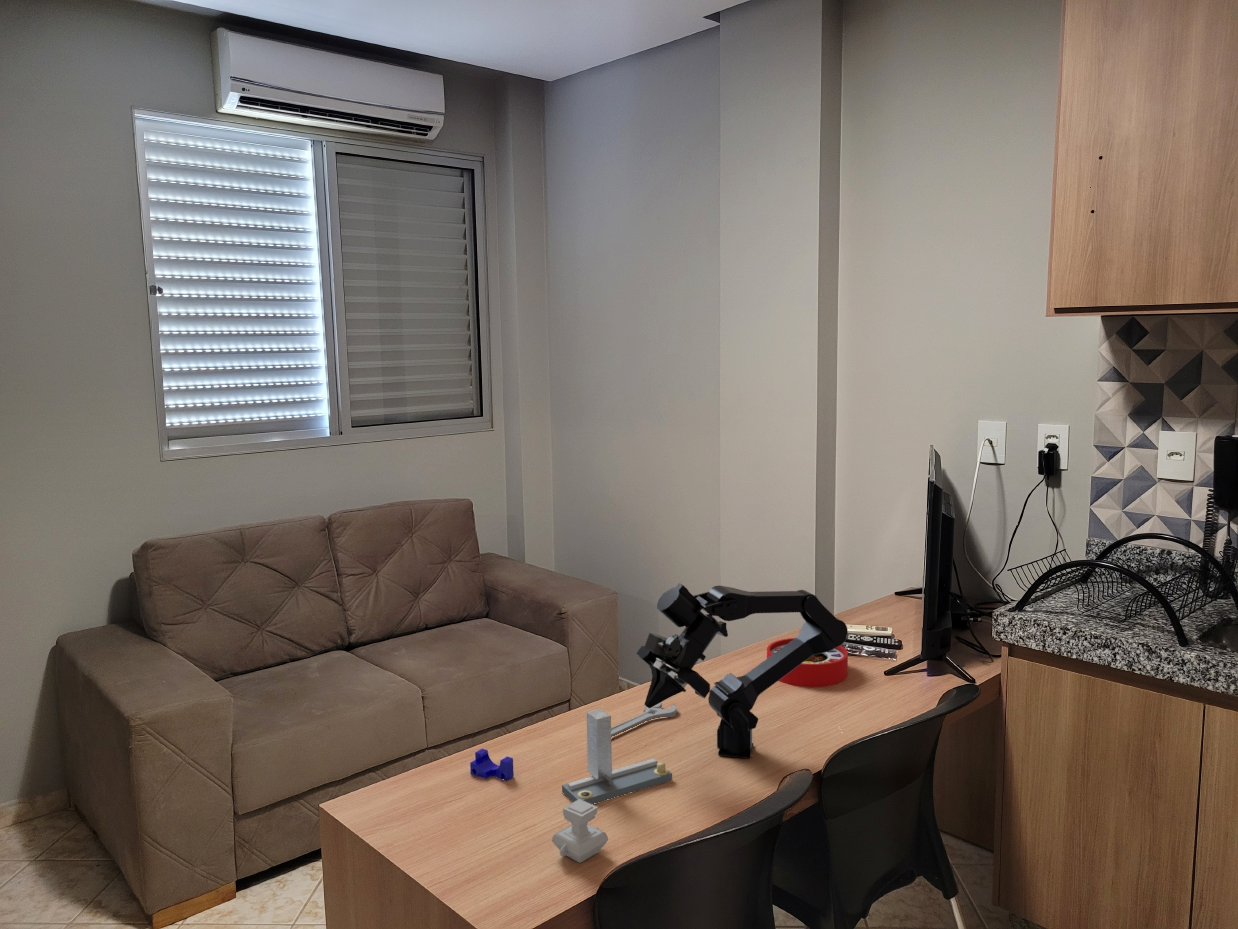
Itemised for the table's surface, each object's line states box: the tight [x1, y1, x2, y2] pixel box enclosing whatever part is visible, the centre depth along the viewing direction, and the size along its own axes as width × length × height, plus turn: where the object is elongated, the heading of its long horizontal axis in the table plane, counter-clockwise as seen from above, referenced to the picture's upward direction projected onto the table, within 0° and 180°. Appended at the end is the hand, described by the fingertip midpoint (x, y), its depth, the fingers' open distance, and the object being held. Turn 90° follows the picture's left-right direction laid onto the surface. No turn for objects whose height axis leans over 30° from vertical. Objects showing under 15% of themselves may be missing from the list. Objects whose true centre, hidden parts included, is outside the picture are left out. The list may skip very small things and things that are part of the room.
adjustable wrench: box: [611, 702, 678, 737], centre depth 196 cm, size 25×6×2 cm, turn 130°
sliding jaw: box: [586, 708, 613, 786], centre depth 167 cm, size 3×6×13 cm, turn 30°
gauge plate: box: [561, 757, 673, 805], centre depth 169 cm, size 20×7×3 cm, turn 120°
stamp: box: [551, 799, 609, 864], centre depth 146 cm, size 9×7×8 cm
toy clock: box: [766, 637, 849, 688], centre depth 225 cm, size 20×6×20 cm
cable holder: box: [469, 748, 515, 782], centre depth 174 cm, size 8×4×4 cm, turn 57°
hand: (646, 706), depth 172 cm, fingers closed
